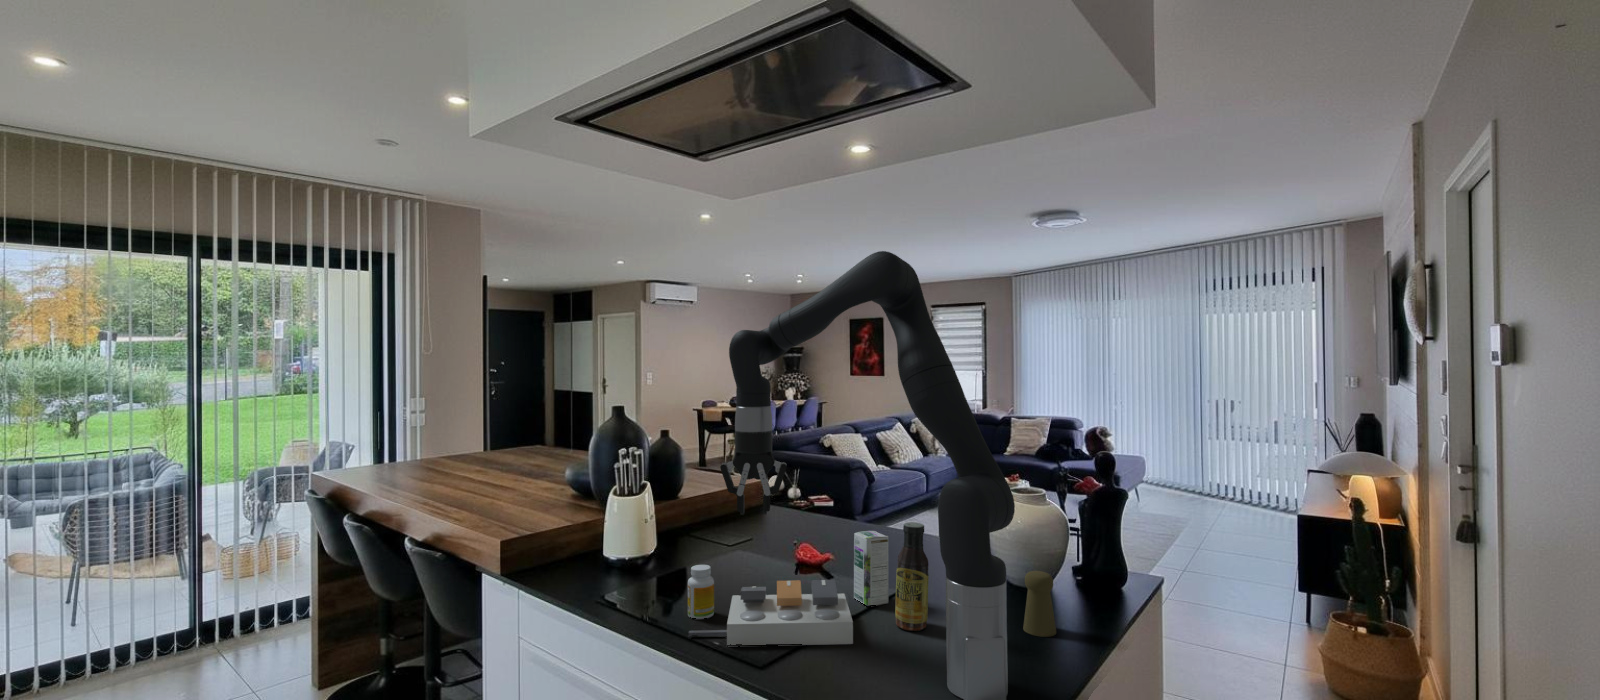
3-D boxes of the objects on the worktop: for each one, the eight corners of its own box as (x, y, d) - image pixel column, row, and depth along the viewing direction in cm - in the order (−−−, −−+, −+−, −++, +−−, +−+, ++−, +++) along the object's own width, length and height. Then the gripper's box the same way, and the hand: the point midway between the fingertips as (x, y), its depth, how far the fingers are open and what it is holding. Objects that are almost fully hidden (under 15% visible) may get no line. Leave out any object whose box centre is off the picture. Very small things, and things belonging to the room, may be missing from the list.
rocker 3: (837, 609, 126) (837, 596, 125) (813, 609, 126) (813, 597, 125) (834, 591, 132) (835, 579, 132) (811, 591, 132) (811, 579, 131)
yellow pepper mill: (1059, 637, 121) (1058, 578, 121) (1025, 635, 122) (1024, 576, 122) (1053, 625, 127) (1052, 568, 127) (1021, 623, 128) (1020, 566, 128)
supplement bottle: (719, 613, 134) (719, 566, 134) (701, 622, 129) (701, 572, 130) (700, 608, 137) (700, 561, 137) (682, 616, 132) (682, 568, 133)
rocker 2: (801, 609, 126) (801, 597, 125) (776, 610, 125) (776, 597, 125) (800, 591, 132) (800, 579, 131) (776, 592, 132) (776, 580, 131)
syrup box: (852, 599, 142) (852, 532, 142) (876, 595, 144) (875, 529, 145) (866, 607, 137) (865, 538, 137) (890, 603, 139) (889, 535, 139)
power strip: (853, 643, 119) (852, 620, 119) (685, 647, 118) (685, 623, 118) (844, 613, 134) (844, 592, 134) (695, 615, 133) (695, 594, 133)
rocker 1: (765, 604, 125) (765, 589, 125) (740, 604, 125) (740, 590, 125) (766, 599, 131) (766, 586, 132) (742, 600, 131) (742, 586, 132)
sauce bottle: (890, 629, 125) (889, 525, 126) (901, 618, 131) (900, 519, 132) (923, 635, 122) (922, 529, 123) (933, 623, 128) (932, 522, 128)
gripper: (716, 430, 128) (716, 518, 127) (789, 430, 128) (789, 517, 128) (720, 427, 135) (720, 510, 135) (788, 426, 136) (788, 509, 135)
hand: (753, 513), depth 131 cm, fingers open, 4 cm apart
